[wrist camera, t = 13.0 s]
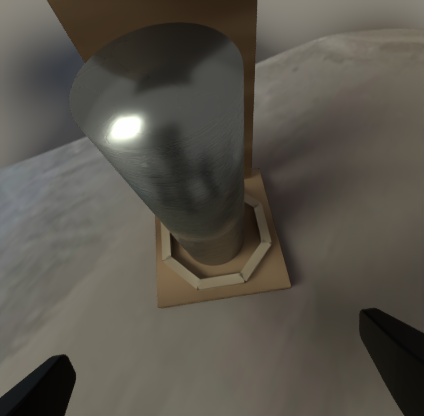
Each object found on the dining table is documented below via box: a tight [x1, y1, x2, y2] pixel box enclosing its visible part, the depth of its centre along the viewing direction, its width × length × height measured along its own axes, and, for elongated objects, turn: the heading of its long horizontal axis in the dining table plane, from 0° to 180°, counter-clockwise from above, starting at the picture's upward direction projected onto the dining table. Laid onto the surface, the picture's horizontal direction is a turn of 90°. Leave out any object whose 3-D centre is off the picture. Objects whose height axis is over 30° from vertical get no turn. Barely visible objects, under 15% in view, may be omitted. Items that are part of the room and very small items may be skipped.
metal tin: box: [69, 22, 245, 266], centre depth 12 cm, size 4×4×12 cm
